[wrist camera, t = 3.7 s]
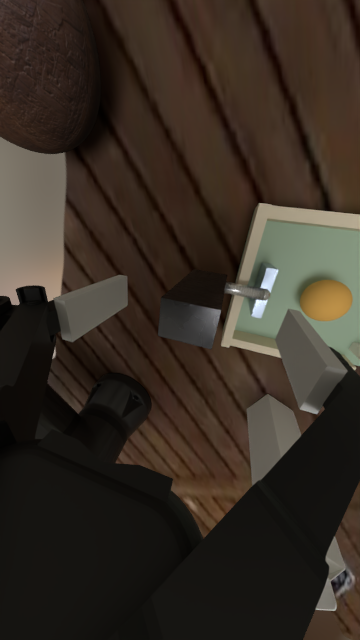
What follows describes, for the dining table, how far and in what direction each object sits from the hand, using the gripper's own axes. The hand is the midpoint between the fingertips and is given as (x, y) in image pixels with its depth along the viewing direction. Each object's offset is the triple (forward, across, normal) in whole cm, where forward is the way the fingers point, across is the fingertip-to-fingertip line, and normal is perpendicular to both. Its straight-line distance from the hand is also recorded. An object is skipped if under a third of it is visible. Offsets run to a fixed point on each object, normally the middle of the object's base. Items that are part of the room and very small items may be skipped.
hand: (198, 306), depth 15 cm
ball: (+11, -14, 0) cm, 18 cm away
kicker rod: (+13, -2, 0) cm, 13 cm away
